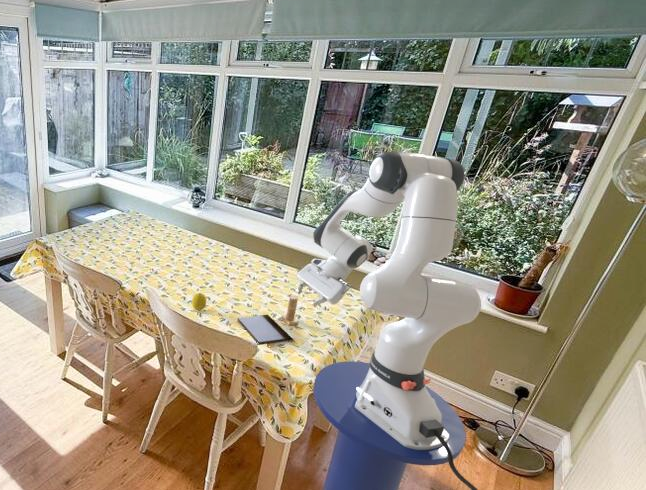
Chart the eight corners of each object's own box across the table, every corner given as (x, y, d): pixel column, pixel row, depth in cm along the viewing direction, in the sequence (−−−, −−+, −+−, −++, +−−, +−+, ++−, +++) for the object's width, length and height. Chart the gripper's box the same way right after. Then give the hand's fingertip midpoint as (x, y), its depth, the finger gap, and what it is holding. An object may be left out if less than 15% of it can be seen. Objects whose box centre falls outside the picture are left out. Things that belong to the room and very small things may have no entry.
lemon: (191, 313, 162) (192, 295, 159) (191, 305, 167) (193, 288, 164) (205, 314, 161) (207, 297, 158) (205, 307, 166) (207, 290, 163)
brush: (297, 327, 152) (302, 300, 148) (287, 328, 151) (293, 301, 147) (289, 320, 157) (294, 293, 153) (280, 321, 156) (285, 294, 152)
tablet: (308, 338, 148) (308, 335, 148) (258, 345, 143) (259, 342, 143) (283, 315, 162) (283, 312, 162) (237, 320, 158) (237, 317, 157)
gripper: (356, 290, 142) (327, 318, 143) (319, 266, 161) (292, 290, 162) (348, 280, 140) (318, 308, 141) (311, 256, 158) (284, 281, 159)
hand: (304, 298), depth 152 cm, fingers open, 8 cm apart
